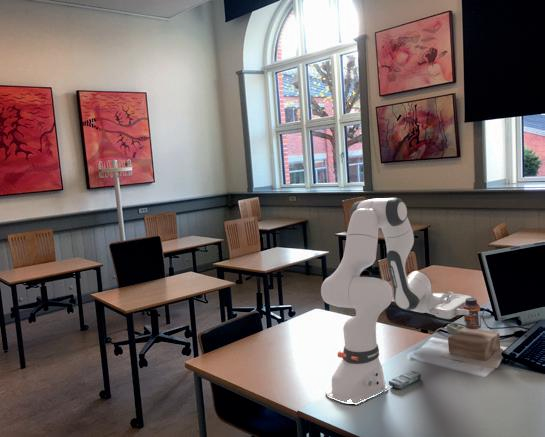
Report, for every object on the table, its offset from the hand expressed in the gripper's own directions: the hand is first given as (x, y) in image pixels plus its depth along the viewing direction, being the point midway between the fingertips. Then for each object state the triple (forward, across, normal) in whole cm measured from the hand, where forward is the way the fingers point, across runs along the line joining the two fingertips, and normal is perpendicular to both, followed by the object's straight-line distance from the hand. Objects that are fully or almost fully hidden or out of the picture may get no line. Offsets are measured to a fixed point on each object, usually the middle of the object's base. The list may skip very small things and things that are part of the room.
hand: (473, 309), depth 188 cm
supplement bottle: (-1, 0, +8) cm, 8 cm away
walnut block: (-1, 0, +17) cm, 17 cm away
